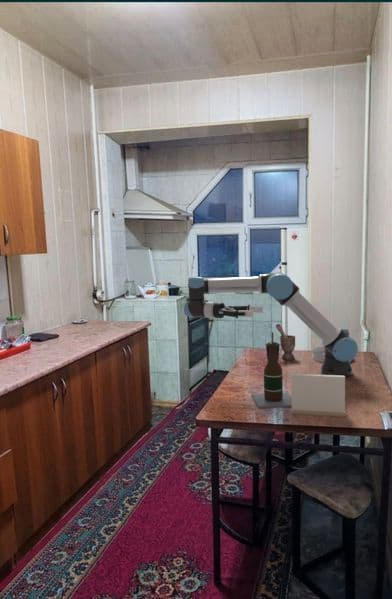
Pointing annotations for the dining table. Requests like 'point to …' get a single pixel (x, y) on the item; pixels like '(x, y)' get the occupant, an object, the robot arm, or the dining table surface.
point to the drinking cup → (268, 348)
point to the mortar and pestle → (286, 344)
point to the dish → (319, 354)
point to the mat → (264, 403)
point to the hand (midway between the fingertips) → (257, 311)
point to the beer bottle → (273, 376)
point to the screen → (318, 394)
